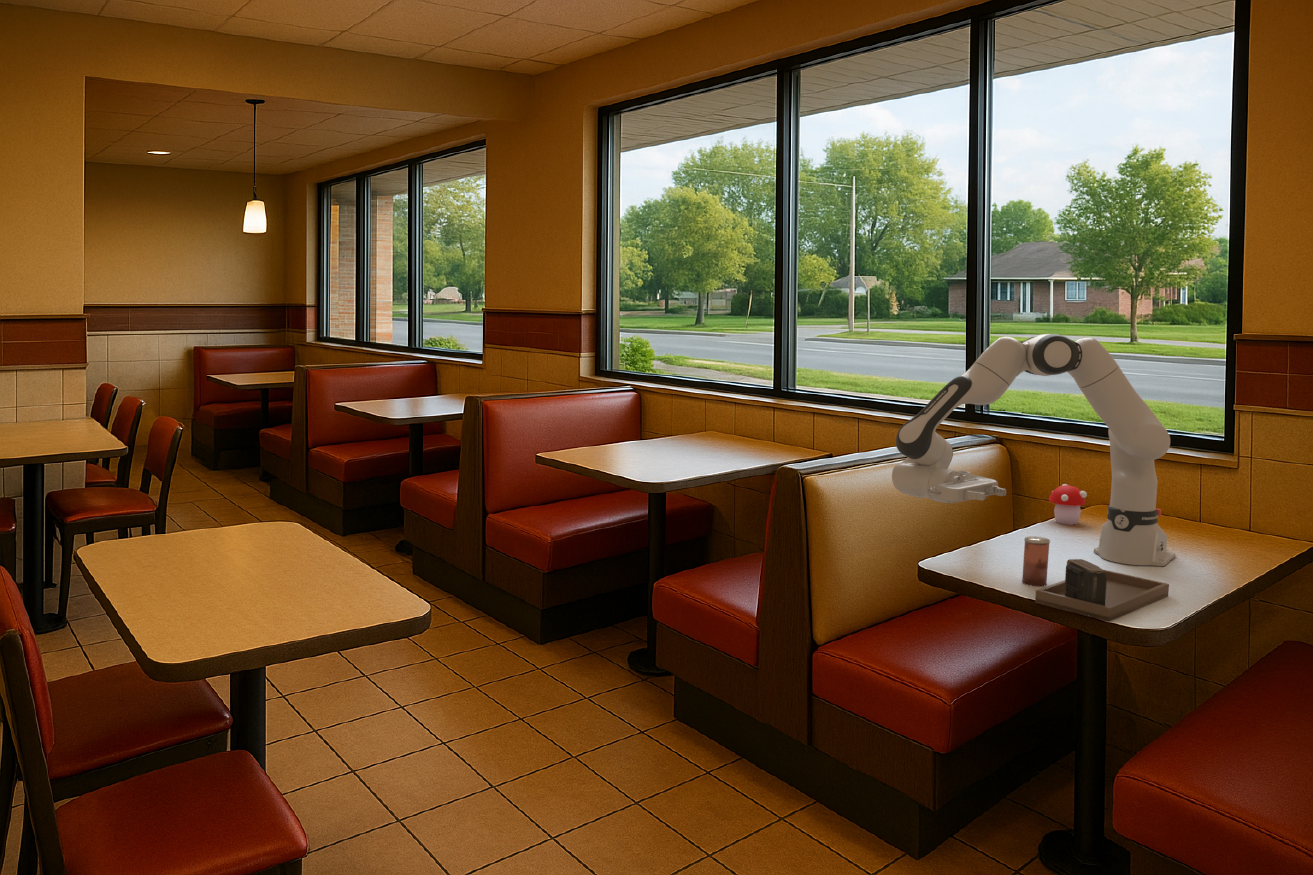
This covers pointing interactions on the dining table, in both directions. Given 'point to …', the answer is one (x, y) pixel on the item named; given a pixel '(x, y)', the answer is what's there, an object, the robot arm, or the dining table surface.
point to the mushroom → (1067, 503)
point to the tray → (1107, 596)
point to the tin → (1035, 561)
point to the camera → (1085, 581)
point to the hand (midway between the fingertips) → (994, 494)
